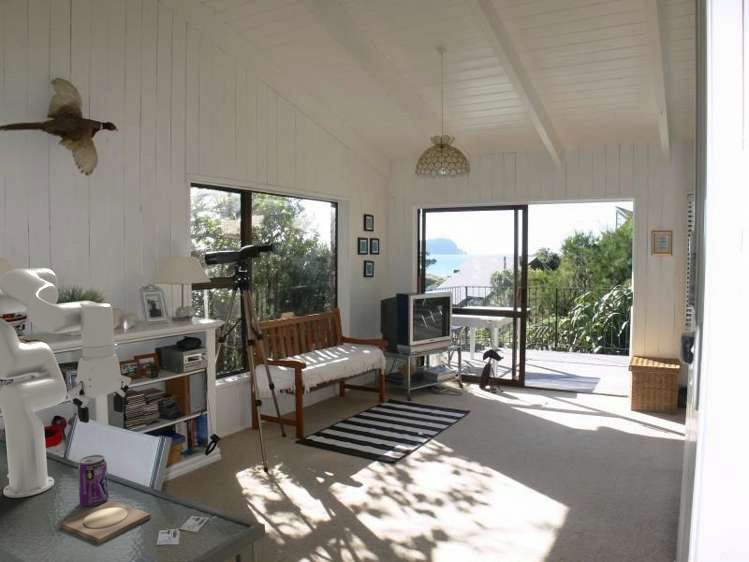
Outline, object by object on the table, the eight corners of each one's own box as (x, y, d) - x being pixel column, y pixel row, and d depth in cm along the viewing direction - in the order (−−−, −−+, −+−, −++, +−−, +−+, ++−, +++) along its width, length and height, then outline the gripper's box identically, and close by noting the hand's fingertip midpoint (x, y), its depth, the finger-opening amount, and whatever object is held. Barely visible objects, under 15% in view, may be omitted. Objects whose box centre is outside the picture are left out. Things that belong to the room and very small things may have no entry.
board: (60, 527, 145) (60, 521, 145) (111, 504, 157) (111, 499, 157) (100, 543, 137) (99, 537, 137) (150, 518, 149) (150, 512, 149)
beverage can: (97, 508, 155) (94, 464, 154) (74, 506, 157) (71, 463, 156) (114, 496, 162) (111, 454, 161) (91, 495, 164) (89, 453, 163)
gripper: (119, 344, 160) (122, 405, 161) (57, 356, 145) (60, 423, 146) (137, 347, 156) (140, 410, 157) (74, 359, 141) (78, 428, 142)
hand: (101, 416), depth 152 cm, fingers open, 9 cm apart
